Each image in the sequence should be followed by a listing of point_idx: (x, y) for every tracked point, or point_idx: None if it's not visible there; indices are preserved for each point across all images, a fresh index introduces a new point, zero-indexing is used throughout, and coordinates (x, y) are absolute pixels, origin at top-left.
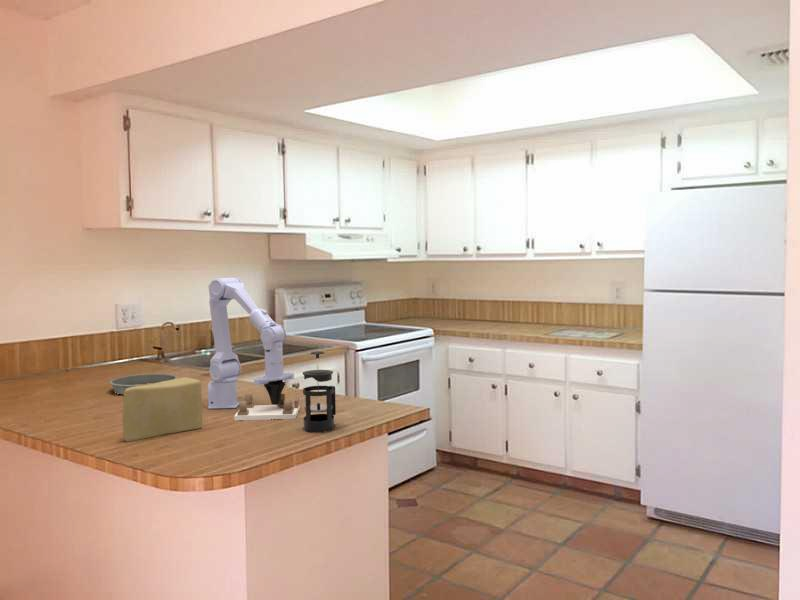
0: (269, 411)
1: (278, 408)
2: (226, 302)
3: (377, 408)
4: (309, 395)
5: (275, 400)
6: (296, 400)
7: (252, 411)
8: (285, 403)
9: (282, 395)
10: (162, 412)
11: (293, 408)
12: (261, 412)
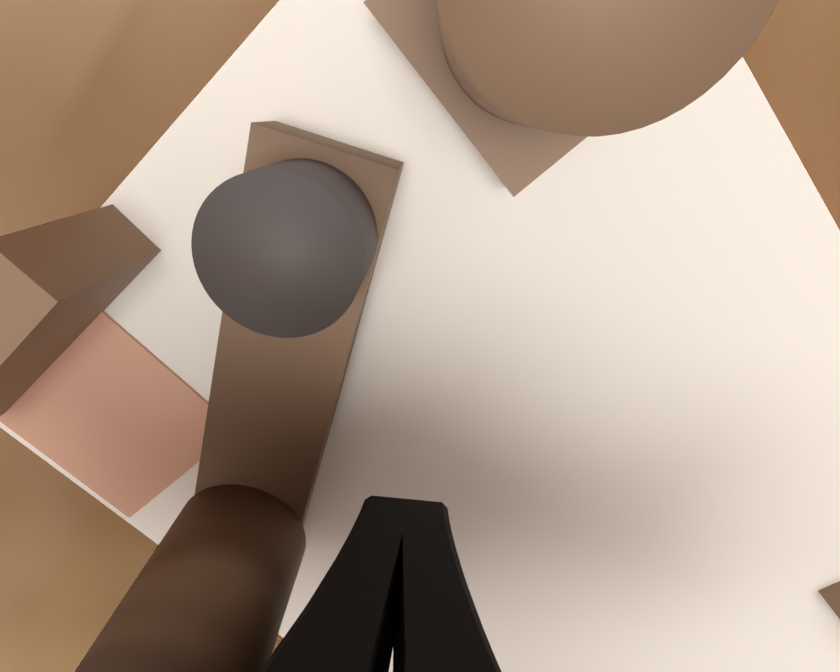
0: (604, 429)
1: (368, 455)
2: None
3: None
4: None
5: (457, 561)
6: (4, 273)
7: (718, 606)
8: None
9: (179, 641)
10: None
11: (274, 122)
12: (720, 480)
